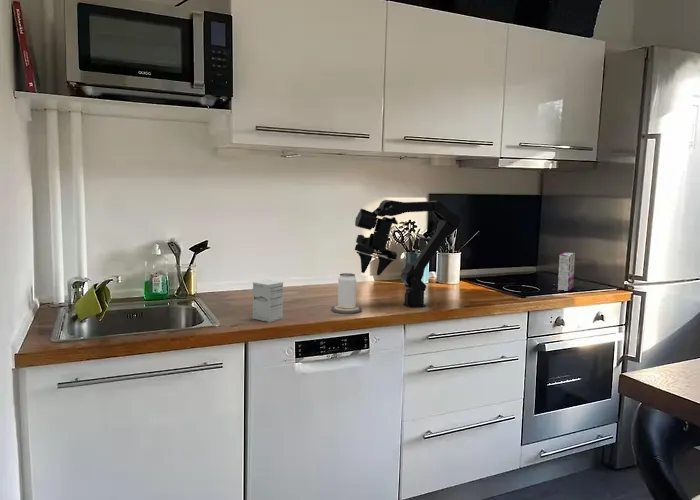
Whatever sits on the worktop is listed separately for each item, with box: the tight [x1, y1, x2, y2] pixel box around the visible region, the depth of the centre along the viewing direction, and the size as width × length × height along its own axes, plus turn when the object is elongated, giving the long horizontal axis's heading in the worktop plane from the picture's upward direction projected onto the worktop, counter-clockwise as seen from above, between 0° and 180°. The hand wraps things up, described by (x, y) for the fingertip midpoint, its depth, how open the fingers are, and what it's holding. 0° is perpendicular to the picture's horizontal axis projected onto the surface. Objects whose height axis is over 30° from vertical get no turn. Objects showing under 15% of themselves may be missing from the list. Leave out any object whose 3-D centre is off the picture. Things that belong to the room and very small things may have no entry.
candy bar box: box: [557, 252, 576, 292], centre depth 254 cm, size 11×5×16 cm, turn 148°
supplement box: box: [252, 279, 284, 323], centre depth 191 cm, size 7×7×13 cm
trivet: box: [331, 305, 363, 315], centre depth 206 cm, size 11×11×1 cm
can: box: [337, 272, 357, 309], centre depth 205 cm, size 6×6×12 cm
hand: (370, 274), depth 211 cm, fingers open, 9 cm apart
